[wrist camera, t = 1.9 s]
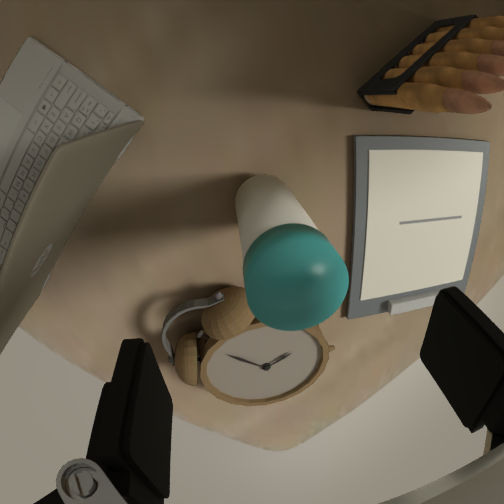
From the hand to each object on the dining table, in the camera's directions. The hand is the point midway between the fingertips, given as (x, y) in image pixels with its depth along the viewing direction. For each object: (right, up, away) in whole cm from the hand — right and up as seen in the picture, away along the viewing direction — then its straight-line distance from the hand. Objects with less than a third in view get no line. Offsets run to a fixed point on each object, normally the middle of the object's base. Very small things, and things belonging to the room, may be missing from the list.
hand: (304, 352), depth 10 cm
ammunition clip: (+10, +17, +9) cm, 22 cm away
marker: (-1, +7, +13) cm, 15 cm away
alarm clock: (-2, -4, +19) cm, 20 cm away
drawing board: (+13, +5, +16) cm, 21 cm away
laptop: (-19, +9, +11) cm, 24 cm away
